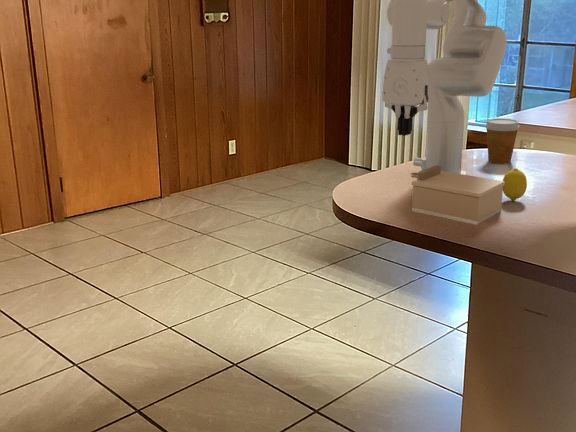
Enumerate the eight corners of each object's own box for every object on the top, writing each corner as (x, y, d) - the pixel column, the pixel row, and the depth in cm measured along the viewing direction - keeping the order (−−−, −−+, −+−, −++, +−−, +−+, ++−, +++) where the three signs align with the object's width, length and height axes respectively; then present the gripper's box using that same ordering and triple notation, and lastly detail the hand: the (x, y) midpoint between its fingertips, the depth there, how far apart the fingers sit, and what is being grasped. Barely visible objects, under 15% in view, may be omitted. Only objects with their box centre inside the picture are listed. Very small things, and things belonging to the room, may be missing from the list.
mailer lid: (411, 185, 149) (412, 173, 148) (438, 173, 158) (439, 163, 157) (479, 197, 139) (480, 185, 138) (504, 184, 147) (505, 173, 147)
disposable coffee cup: (514, 158, 197) (518, 118, 193) (517, 166, 188) (521, 124, 184) (481, 157, 199) (484, 117, 195) (483, 165, 190) (486, 123, 186)
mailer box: (411, 210, 151) (412, 185, 149) (437, 198, 159) (439, 174, 158) (477, 224, 141) (479, 198, 139) (500, 211, 149) (503, 185, 147)
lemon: (525, 198, 158) (528, 166, 155) (525, 205, 153) (528, 171, 151) (501, 196, 160) (503, 164, 157) (500, 203, 155) (503, 170, 152)
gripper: (370, 53, 150) (368, 133, 155) (429, 55, 140) (424, 140, 146) (388, 51, 155) (386, 129, 161) (446, 54, 146) (441, 135, 151)
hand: (404, 134), depth 153 cm, fingers closed
